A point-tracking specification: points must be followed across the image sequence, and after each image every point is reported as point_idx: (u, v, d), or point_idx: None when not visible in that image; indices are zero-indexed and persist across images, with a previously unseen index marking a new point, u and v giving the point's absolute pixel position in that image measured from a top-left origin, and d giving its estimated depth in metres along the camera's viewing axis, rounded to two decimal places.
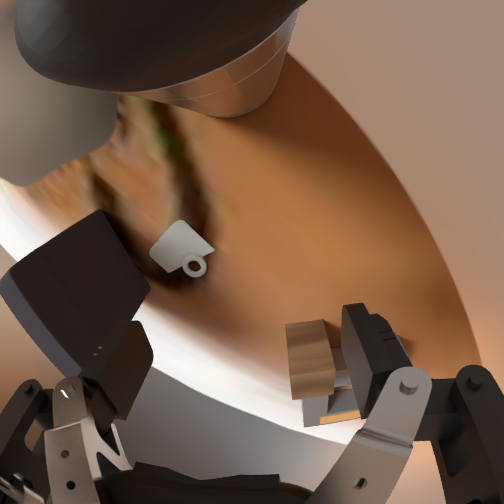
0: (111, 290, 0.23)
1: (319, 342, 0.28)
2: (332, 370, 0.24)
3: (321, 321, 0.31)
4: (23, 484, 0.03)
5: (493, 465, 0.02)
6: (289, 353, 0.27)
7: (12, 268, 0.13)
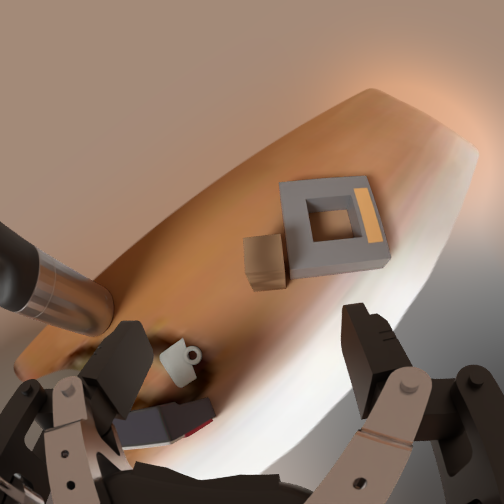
0: None
1: None
2: (244, 240, 0.33)
3: None
4: (23, 484, 0.03)
5: (493, 465, 0.02)
6: None
7: None
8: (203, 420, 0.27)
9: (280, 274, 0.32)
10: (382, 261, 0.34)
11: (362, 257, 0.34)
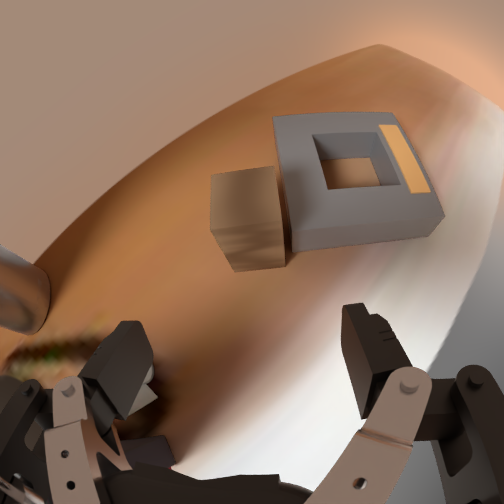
0: None
1: None
2: (213, 177, 0.19)
3: None
4: (23, 484, 0.03)
5: (493, 465, 0.02)
6: (221, 247, 0.20)
7: None
8: None
9: (275, 234, 0.18)
10: (432, 222, 0.20)
11: (405, 213, 0.20)
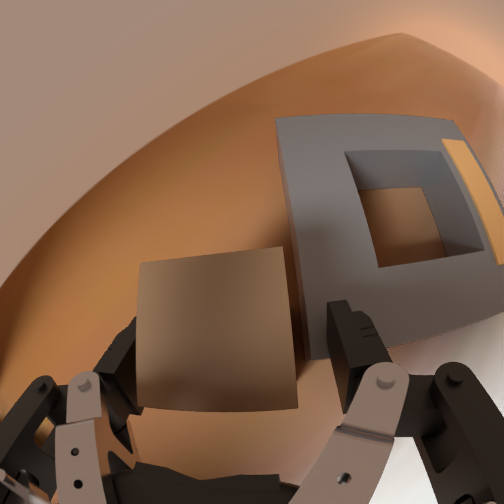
0: None
1: None
2: (145, 271, 0.08)
3: None
4: (29, 481, 0.03)
5: (481, 460, 0.02)
6: None
7: None
8: None
9: None
10: None
11: (491, 305, 0.09)
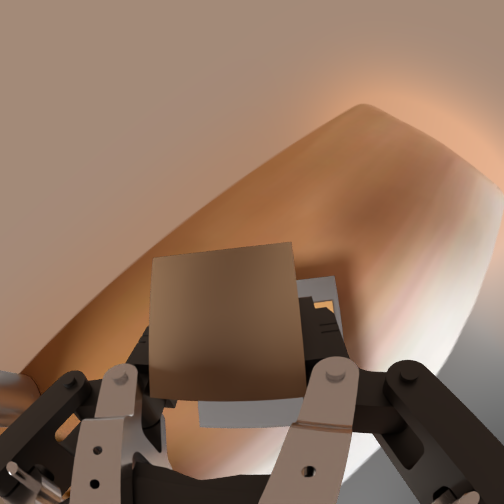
0: None
1: None
2: (158, 265, 0.09)
3: None
4: (42, 477, 0.03)
5: (450, 454, 0.03)
6: None
7: None
8: None
9: None
10: None
11: None
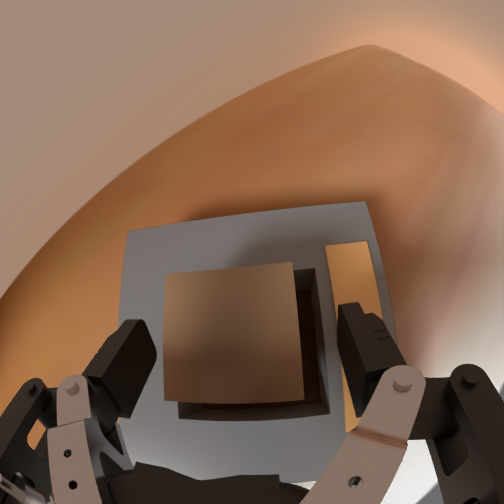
0: None
1: None
2: (170, 281, 0.09)
3: None
4: (25, 483, 0.03)
5: (490, 464, 0.02)
6: None
7: None
8: None
9: None
10: None
11: (317, 471, 0.09)
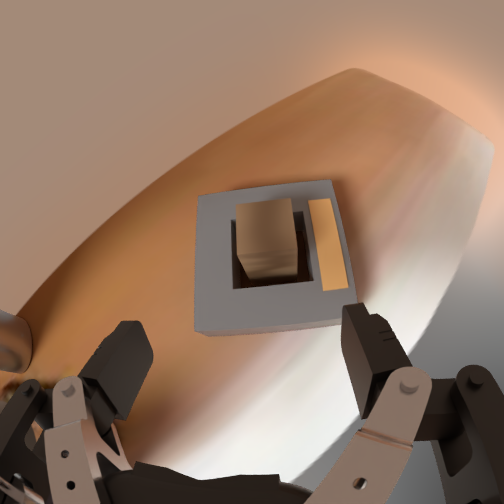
0: None
1: None
2: (238, 207, 0.22)
3: None
4: (23, 484, 0.03)
5: (493, 465, 0.02)
6: None
7: None
8: None
9: (290, 257, 0.22)
10: None
11: (309, 315, 0.22)
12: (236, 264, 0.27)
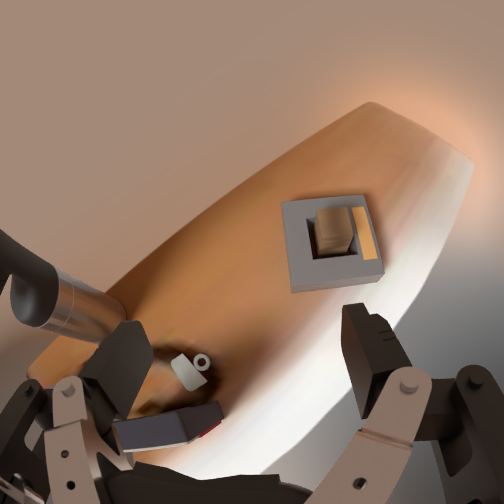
0: None
1: (315, 229, 0.41)
2: (318, 211, 0.38)
3: (313, 235, 0.45)
4: (23, 484, 0.03)
5: (493, 465, 0.02)
6: (319, 246, 0.39)
7: None
8: (214, 422, 0.30)
9: (348, 240, 0.37)
10: (376, 276, 0.37)
11: (358, 273, 0.37)
12: None
